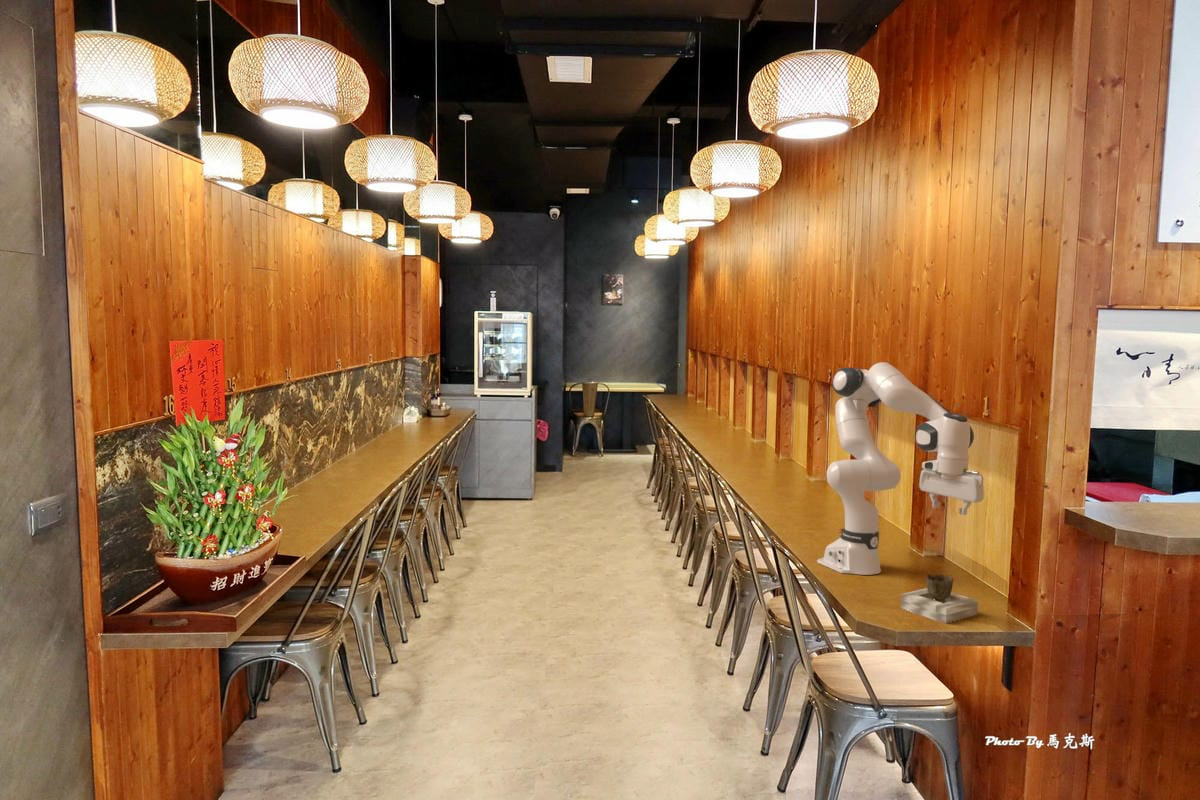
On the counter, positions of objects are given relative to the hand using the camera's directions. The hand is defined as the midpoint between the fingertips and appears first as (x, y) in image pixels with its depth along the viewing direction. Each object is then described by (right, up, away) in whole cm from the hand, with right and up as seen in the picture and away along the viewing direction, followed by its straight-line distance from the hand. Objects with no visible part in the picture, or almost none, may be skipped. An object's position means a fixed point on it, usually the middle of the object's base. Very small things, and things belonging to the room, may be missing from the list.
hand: (949, 510), depth 242 cm
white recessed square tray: (-7, -29, -10) cm, 32 cm away
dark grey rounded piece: (-7, -26, -9) cm, 29 cm away
